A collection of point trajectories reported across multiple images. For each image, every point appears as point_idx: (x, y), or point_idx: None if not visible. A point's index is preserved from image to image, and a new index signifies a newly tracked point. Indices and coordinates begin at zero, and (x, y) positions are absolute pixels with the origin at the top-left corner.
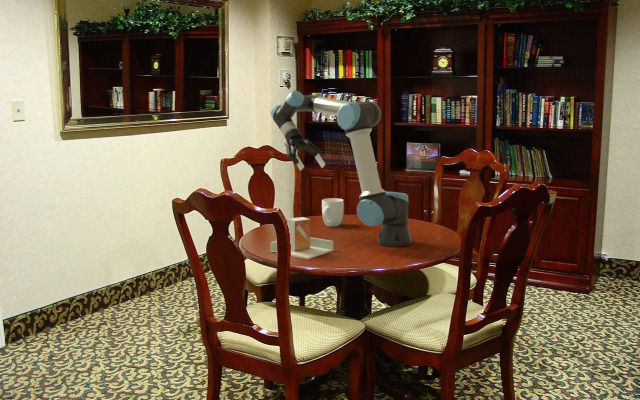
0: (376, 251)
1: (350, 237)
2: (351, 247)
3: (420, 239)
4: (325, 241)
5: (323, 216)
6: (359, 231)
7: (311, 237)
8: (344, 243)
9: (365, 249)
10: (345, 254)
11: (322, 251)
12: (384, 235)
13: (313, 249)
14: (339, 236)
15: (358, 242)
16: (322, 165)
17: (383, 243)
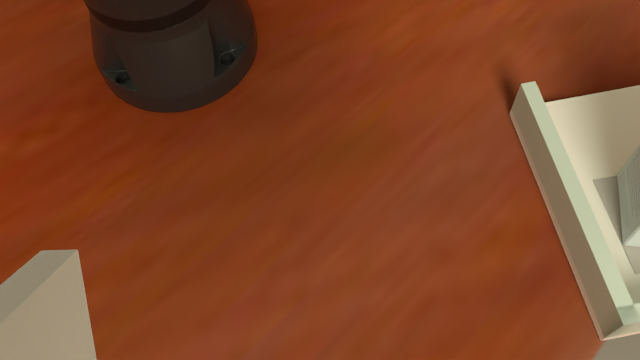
0: (361, 4)
1: (224, 259)
2: (392, 107)
3: (44, 25)
4: (548, 117)
5: None
6: None
7: (576, 210)
8: (358, 182)
9: (370, 48)
10: (505, 42)
11: (588, 105)
12: (241, 13)
13: (606, 158)
14: (248, 322)
15: (288, 153)
16: (80, 326)
17: (255, 38)
